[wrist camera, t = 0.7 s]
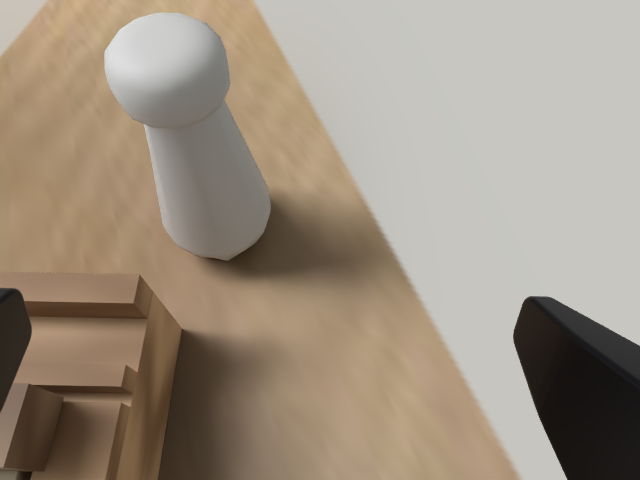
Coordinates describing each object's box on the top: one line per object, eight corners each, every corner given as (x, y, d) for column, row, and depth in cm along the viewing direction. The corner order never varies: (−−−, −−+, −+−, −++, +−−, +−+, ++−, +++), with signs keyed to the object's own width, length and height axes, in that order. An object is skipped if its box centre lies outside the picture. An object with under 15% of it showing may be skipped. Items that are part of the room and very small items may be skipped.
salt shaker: (224, 171, 30) (167, -34, 18) (294, 222, 28) (280, 31, 16) (152, 235, 27) (36, 46, 16) (223, 294, 26) (150, 131, 14)
